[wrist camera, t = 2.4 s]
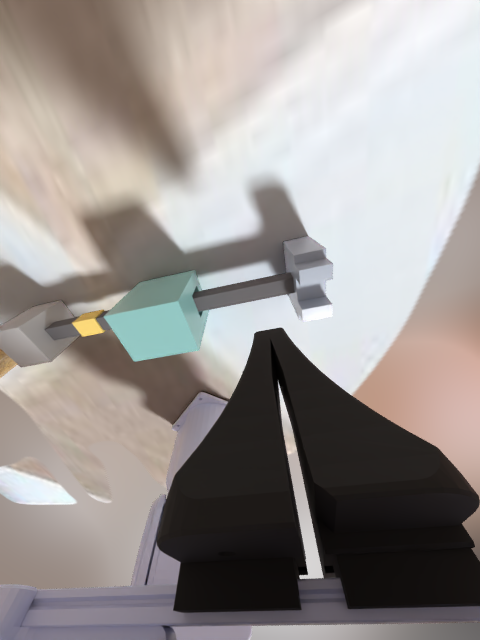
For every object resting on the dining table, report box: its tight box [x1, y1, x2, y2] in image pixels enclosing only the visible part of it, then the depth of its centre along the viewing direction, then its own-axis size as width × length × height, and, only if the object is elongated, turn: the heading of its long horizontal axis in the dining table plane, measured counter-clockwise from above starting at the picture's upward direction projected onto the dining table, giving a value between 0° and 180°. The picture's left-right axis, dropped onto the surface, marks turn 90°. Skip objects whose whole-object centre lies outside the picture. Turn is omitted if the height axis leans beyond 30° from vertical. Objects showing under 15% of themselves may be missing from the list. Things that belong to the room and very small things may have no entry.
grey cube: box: [0, 300, 80, 367], centre depth 19 cm, size 4×4×4 cm
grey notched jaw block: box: [283, 236, 333, 322], centre depth 16 cm, size 2×5×5 cm, turn 13°
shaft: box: [44, 272, 295, 340], centre depth 17 cm, size 23×1×1 cm, turn 103°
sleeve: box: [103, 270, 209, 362], centre depth 16 cm, size 5×4×6 cm
